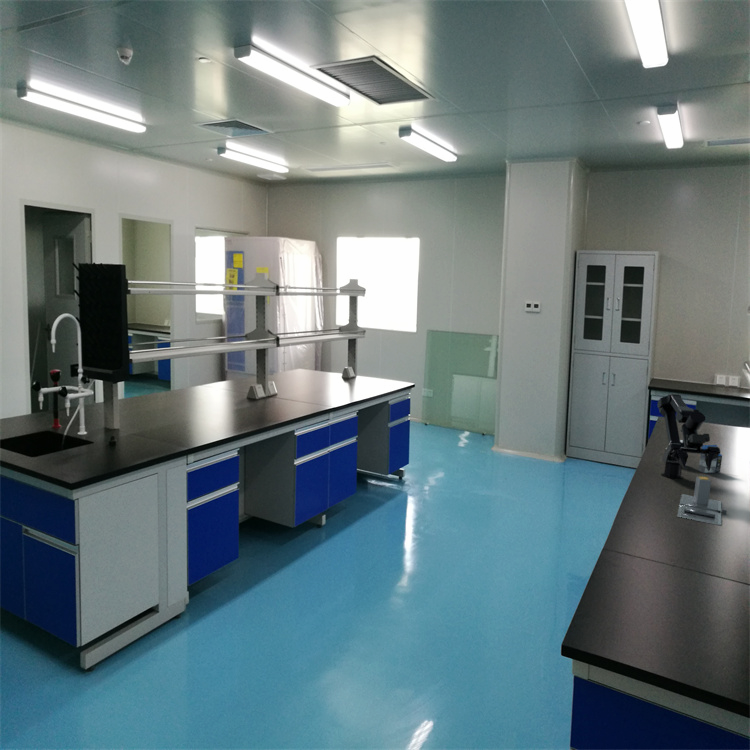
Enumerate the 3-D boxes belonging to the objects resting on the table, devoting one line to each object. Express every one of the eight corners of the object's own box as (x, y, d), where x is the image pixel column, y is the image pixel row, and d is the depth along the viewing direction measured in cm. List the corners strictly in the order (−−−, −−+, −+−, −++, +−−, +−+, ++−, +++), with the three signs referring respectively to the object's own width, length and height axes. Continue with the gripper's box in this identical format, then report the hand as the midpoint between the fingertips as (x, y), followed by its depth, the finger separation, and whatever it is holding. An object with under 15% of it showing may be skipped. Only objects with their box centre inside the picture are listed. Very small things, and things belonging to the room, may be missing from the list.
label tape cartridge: (704, 473, 278) (707, 447, 277) (697, 471, 282) (701, 445, 280) (720, 473, 281) (723, 447, 279) (713, 470, 285) (717, 444, 283)
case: (681, 495, 247) (682, 490, 246) (726, 503, 239) (726, 498, 239) (677, 516, 222) (677, 512, 222) (726, 526, 214) (727, 521, 214)
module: (693, 499, 239) (696, 475, 238) (704, 500, 239) (707, 476, 237) (696, 503, 236) (700, 479, 234) (708, 504, 235) (711, 480, 233)
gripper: (672, 423, 248) (678, 457, 239) (721, 427, 245) (729, 461, 236) (664, 438, 257) (669, 470, 248) (711, 441, 254) (718, 475, 245)
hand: (696, 469), depth 244 cm, fingers open, 9 cm apart
